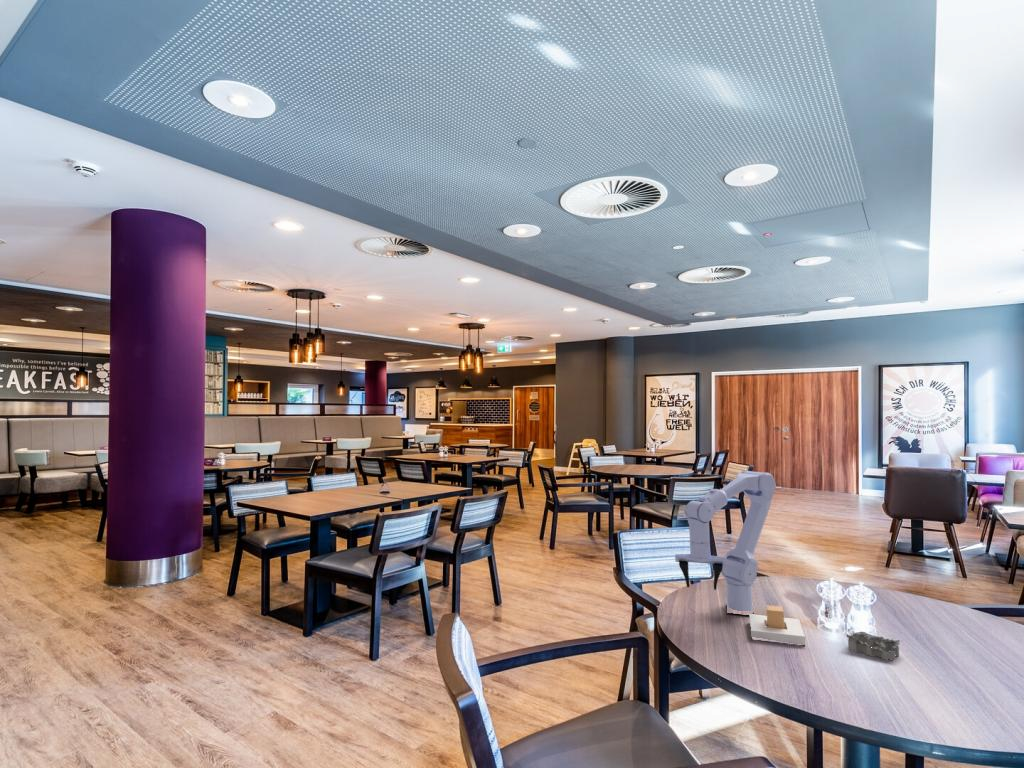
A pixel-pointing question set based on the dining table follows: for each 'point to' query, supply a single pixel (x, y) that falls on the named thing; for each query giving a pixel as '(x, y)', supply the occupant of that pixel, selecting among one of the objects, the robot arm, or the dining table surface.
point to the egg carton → (873, 645)
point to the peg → (775, 617)
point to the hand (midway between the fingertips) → (701, 587)
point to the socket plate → (777, 630)
